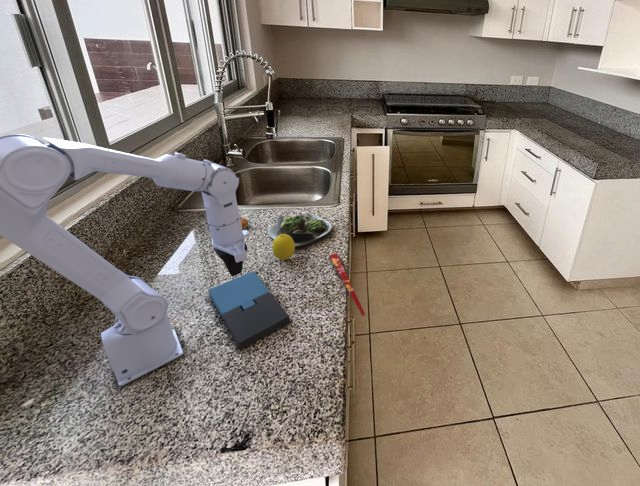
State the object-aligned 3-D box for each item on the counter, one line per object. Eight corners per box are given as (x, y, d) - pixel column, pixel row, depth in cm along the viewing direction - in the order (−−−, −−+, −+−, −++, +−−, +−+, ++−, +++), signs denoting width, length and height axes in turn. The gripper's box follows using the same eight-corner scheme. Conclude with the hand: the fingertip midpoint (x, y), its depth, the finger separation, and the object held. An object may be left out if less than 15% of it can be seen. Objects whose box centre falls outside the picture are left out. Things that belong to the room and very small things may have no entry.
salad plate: (254, 230, 105) (251, 217, 103) (307, 211, 117) (305, 199, 116) (284, 258, 93) (281, 243, 91) (339, 233, 105) (338, 220, 103)
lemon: (289, 251, 96) (286, 226, 93) (300, 259, 93) (297, 234, 90) (270, 260, 92) (266, 234, 89) (280, 269, 89) (276, 242, 86)
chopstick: (360, 318, 74) (360, 314, 74) (329, 257, 93) (329, 254, 93) (369, 314, 75) (369, 311, 75) (337, 255, 94) (336, 252, 94)
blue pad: (226, 325, 72) (224, 318, 71) (209, 295, 79) (208, 289, 79) (274, 301, 78) (273, 295, 77) (254, 276, 86) (253, 270, 85)
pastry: (250, 221, 110) (248, 210, 109) (246, 232, 104) (244, 221, 103) (218, 224, 108) (216, 213, 107) (212, 236, 102) (209, 225, 100)
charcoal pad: (240, 350, 66) (238, 343, 65) (223, 320, 73) (221, 314, 72) (289, 322, 73) (288, 316, 72) (270, 297, 79) (269, 291, 79)
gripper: (257, 226, 69) (267, 281, 74) (233, 201, 78) (243, 251, 83) (219, 239, 64) (232, 297, 69) (197, 211, 73) (210, 263, 79)
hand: (235, 273), depth 76 cm, fingers closed
